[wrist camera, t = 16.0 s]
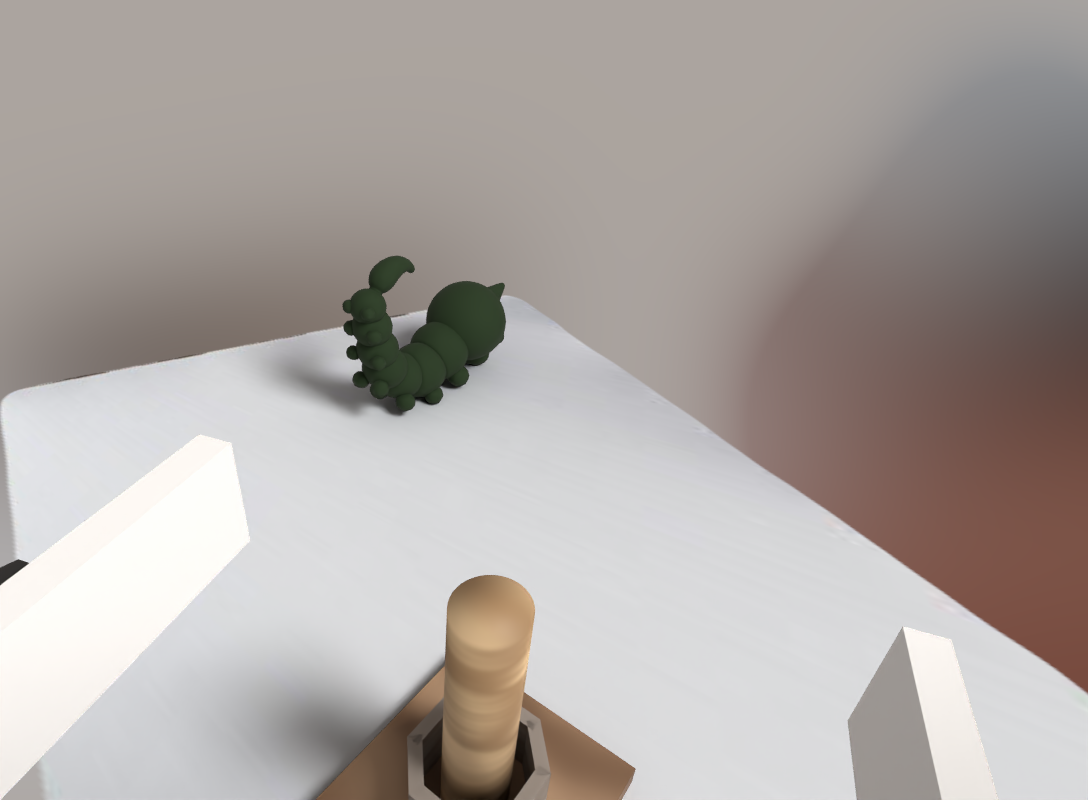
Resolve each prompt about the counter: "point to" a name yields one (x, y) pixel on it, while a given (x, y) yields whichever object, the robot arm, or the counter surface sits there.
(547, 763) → the cup bracket
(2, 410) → the counter surface
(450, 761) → the oak cylinder
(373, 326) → the toy figurine
